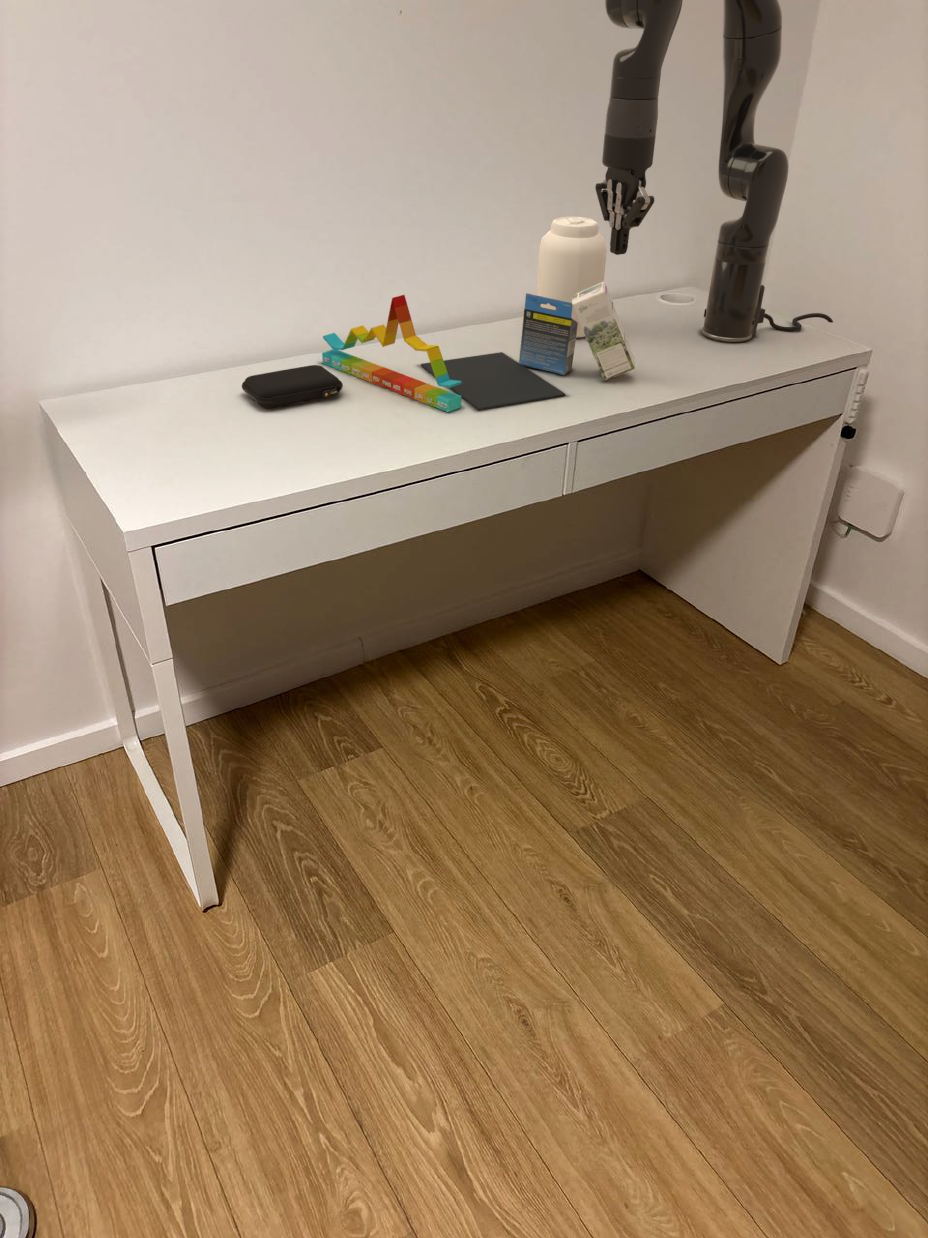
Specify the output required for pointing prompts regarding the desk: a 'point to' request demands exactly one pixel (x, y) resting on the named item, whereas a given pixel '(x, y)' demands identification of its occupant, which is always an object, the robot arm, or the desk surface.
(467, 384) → the mat
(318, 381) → the carrying case
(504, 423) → the desk surface
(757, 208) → the robot arm
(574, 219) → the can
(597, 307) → the syrup box
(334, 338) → the chart
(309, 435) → the desk surface
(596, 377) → the desk surface
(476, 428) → the desk surface
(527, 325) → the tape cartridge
